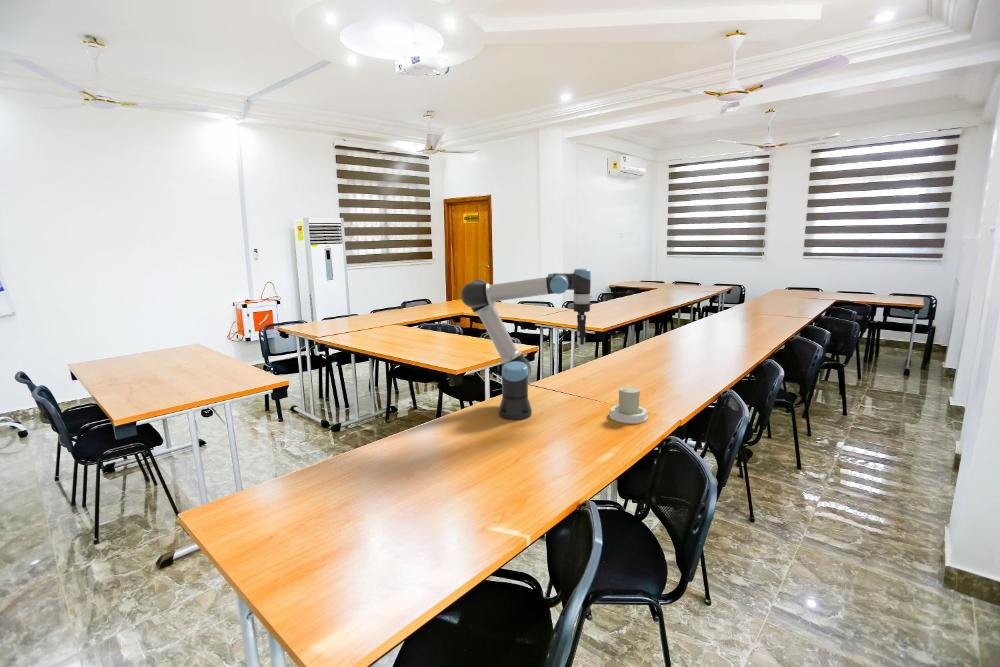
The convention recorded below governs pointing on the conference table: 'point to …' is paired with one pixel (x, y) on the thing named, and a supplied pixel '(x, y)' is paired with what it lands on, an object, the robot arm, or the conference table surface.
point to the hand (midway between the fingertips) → (580, 348)
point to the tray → (628, 416)
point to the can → (629, 400)
